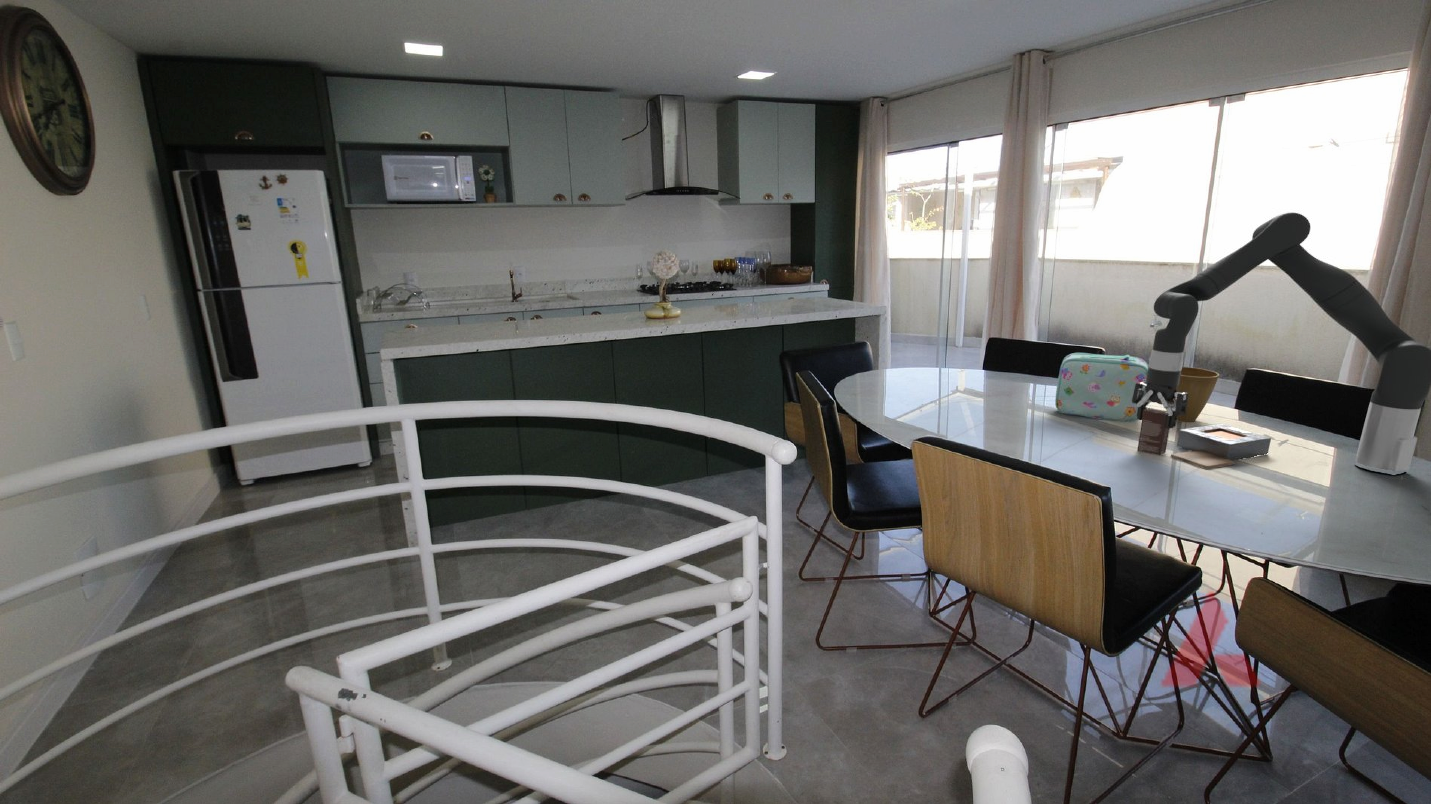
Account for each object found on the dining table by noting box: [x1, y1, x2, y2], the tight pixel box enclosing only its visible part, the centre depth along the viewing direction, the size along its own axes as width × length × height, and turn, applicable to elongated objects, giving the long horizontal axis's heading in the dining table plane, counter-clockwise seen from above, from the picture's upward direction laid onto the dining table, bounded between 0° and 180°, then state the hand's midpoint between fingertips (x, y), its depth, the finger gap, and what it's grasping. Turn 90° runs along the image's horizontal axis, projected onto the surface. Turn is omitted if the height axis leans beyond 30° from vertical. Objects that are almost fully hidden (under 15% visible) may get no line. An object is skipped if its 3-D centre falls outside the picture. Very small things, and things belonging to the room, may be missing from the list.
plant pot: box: [1165, 366, 1220, 423], centre depth 216 cm, size 15×15×16 cm
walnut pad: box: [1170, 450, 1235, 470], centre depth 180 cm, size 10×10×1 cm
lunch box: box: [1054, 352, 1149, 422], centre depth 219 cm, size 27×10×21 cm, turn 59°
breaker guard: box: [1176, 423, 1272, 462], centre depth 187 cm, size 14×16×5 cm
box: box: [1137, 407, 1170, 456], centre depth 186 cm, size 6×4×12 cm
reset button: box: [1208, 431, 1241, 439], centre depth 187 cm, size 6×6×2 cm
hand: (1154, 423), depth 186 cm, fingers open, 8 cm apart
